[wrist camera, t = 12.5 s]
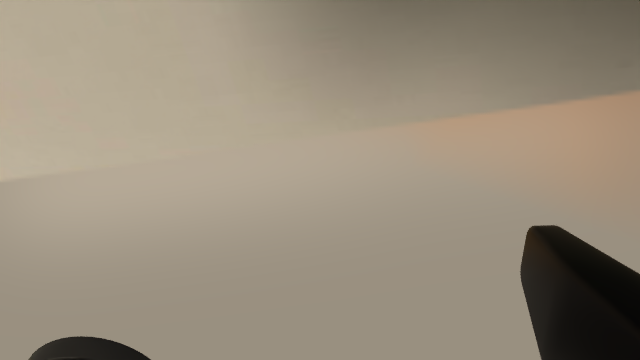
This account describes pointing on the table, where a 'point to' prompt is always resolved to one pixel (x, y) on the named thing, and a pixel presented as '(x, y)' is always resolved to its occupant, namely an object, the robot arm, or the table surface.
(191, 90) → the table surface
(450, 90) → the table surface
